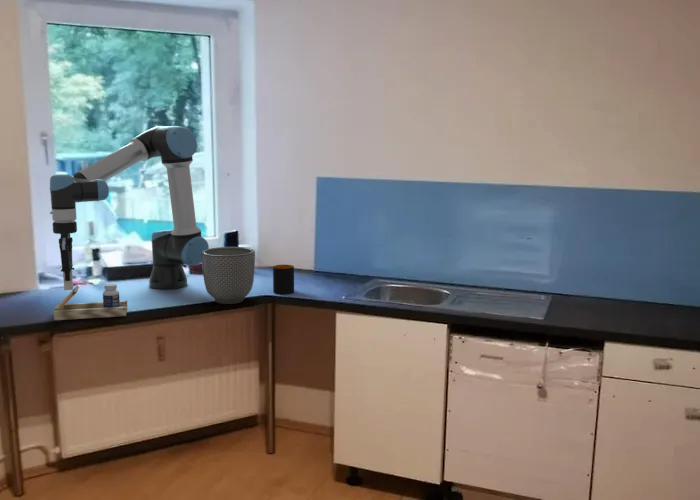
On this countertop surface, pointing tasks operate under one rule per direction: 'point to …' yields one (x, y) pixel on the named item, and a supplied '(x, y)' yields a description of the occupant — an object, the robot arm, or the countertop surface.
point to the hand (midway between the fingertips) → (68, 289)
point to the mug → (283, 279)
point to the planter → (228, 273)
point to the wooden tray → (88, 310)
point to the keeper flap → (69, 296)
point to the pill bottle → (111, 296)
